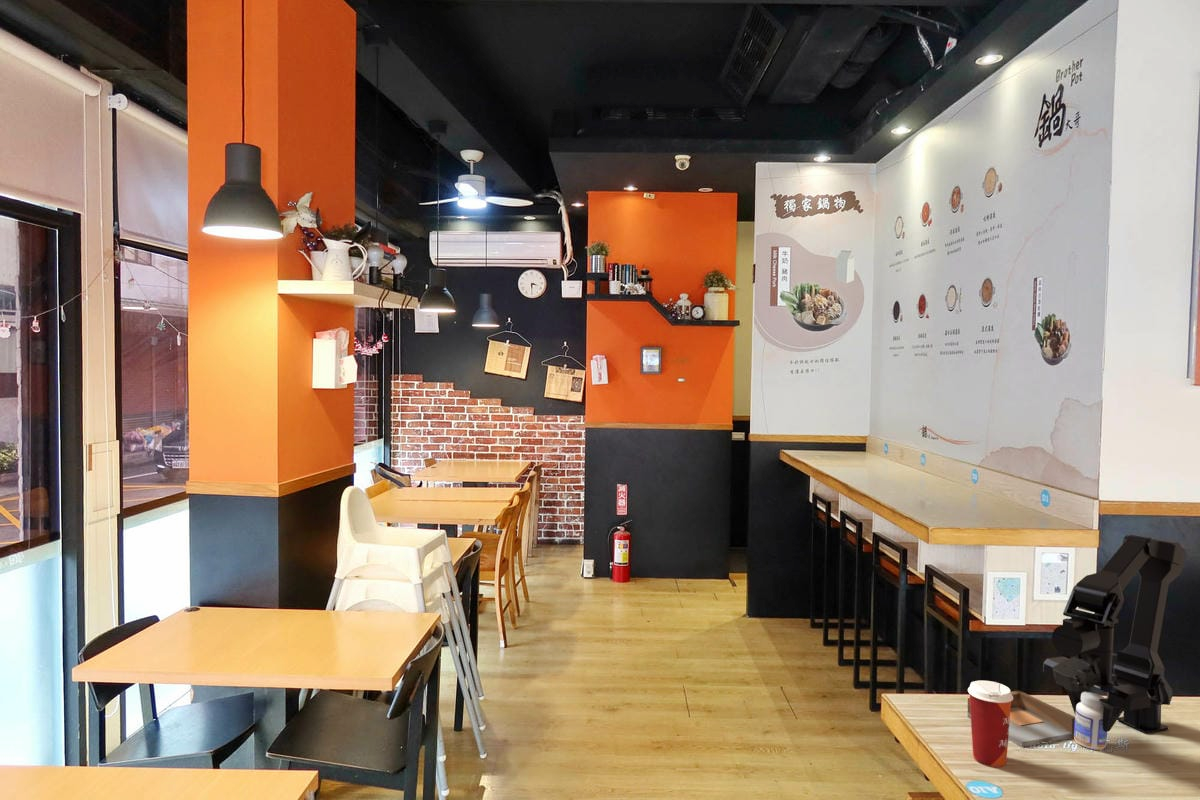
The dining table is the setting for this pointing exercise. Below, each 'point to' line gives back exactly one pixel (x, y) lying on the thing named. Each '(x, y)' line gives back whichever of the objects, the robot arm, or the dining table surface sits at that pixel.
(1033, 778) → the dining table surface
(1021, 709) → the corner arena
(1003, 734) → the paper cup
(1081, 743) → the pill bottle
